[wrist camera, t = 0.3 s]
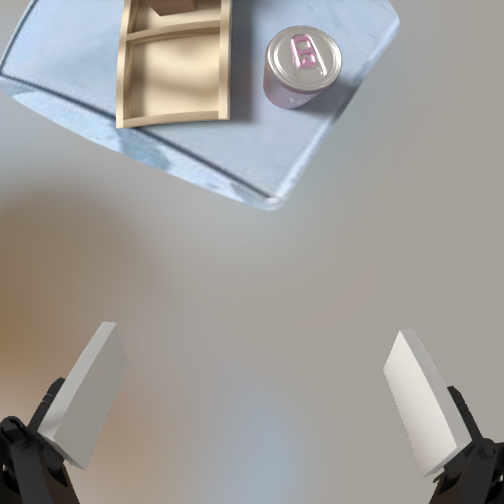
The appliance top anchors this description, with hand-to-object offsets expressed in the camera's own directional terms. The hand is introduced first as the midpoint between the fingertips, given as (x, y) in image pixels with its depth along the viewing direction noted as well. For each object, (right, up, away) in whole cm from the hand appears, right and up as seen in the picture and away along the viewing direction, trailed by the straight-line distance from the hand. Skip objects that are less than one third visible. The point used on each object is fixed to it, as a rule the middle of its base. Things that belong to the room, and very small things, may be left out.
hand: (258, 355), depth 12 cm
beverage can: (+4, +25, +19) cm, 31 cm away
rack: (-10, +32, +15) cm, 37 cm away
